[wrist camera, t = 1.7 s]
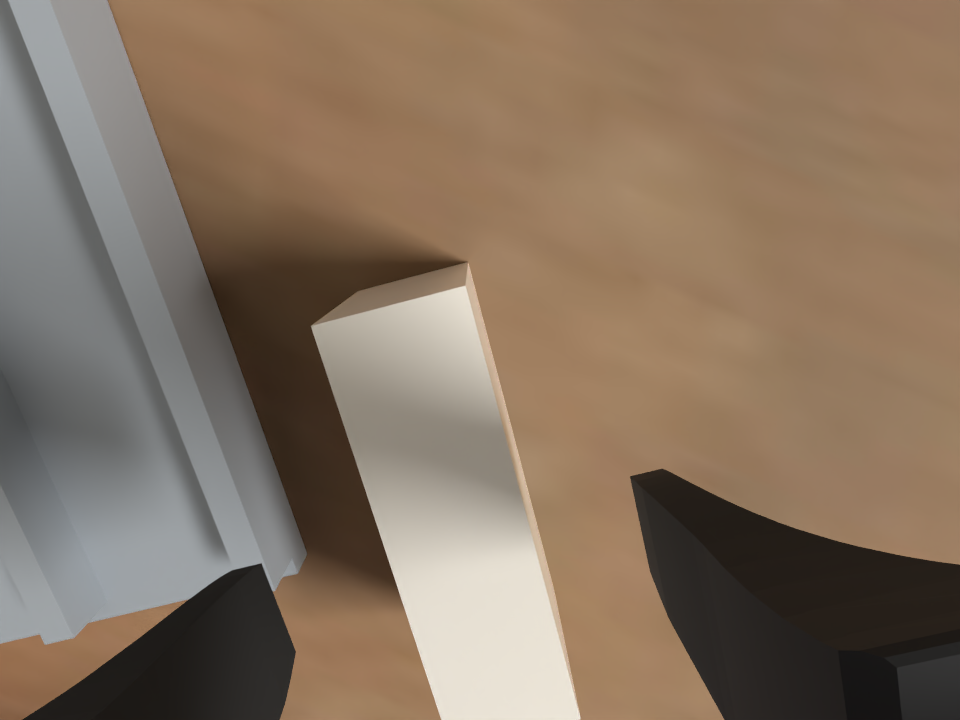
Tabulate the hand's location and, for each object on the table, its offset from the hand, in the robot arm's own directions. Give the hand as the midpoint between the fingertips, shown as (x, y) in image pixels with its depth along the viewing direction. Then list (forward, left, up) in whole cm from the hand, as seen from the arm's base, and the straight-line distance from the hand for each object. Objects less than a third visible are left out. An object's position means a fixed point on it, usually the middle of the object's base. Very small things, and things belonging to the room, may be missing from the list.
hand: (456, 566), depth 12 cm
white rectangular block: (0, 0, -6) cm, 6 cm away
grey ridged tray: (+6, +11, -6) cm, 14 cm away
